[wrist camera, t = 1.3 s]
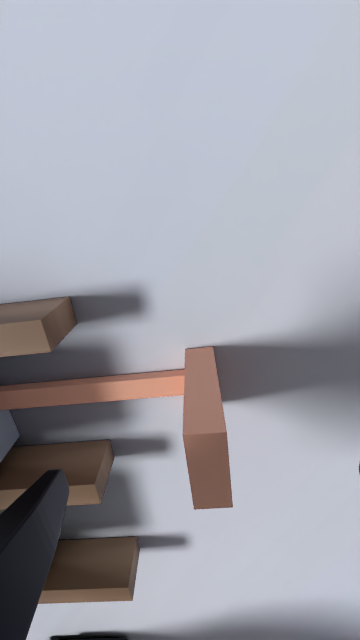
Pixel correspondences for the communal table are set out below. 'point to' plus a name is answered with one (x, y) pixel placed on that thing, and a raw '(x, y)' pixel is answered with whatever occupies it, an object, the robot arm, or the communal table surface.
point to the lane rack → (65, 472)
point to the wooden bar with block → (193, 382)
